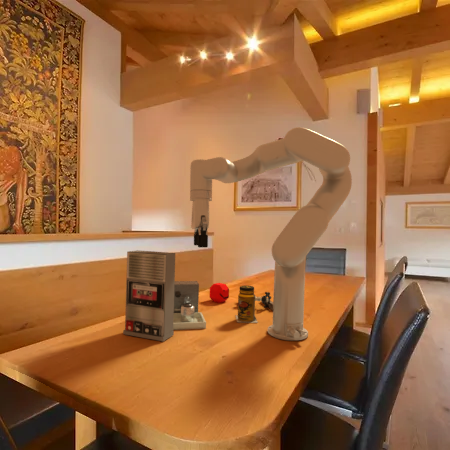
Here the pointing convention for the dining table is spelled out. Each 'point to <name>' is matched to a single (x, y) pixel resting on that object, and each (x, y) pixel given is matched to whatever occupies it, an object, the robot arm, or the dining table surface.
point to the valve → (264, 299)
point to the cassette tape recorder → (150, 294)
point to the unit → (186, 294)
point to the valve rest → (269, 304)
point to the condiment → (246, 305)
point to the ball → (219, 292)
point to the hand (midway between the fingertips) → (200, 246)
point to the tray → (197, 324)
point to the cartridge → (187, 312)
